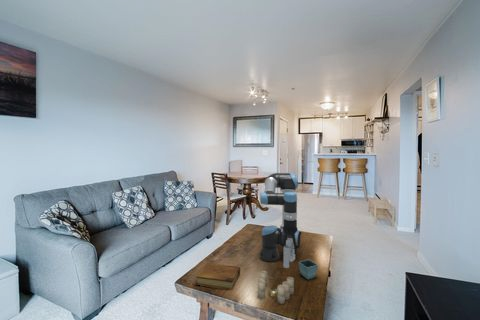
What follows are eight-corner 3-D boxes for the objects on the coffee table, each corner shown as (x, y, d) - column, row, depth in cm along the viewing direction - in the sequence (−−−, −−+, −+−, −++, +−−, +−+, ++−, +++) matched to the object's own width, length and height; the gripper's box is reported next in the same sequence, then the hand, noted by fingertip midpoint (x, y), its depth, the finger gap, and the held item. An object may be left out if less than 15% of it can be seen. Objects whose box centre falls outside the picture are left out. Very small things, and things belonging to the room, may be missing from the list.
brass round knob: (270, 291, 134) (270, 286, 134) (279, 293, 132) (279, 289, 132) (267, 296, 130) (267, 291, 130) (276, 298, 127) (276, 293, 127)
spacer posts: (261, 283, 142) (261, 270, 142) (294, 291, 134) (294, 277, 134) (252, 296, 129) (252, 281, 129) (288, 306, 121) (288, 290, 121)
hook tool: (287, 257, 139) (287, 237, 139) (294, 259, 138) (294, 238, 138) (282, 267, 128) (282, 245, 127) (289, 268, 126) (290, 246, 126)
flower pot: (307, 282, 144) (307, 267, 144) (298, 275, 152) (298, 261, 152) (318, 279, 148) (318, 264, 148) (308, 272, 156) (309, 259, 156)
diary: (240, 275, 154) (240, 266, 153) (232, 290, 135) (232, 280, 135) (207, 270, 159) (207, 262, 159) (195, 285, 141) (195, 275, 141)
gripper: (274, 218, 136) (274, 258, 137) (304, 222, 130) (304, 264, 130) (277, 215, 143) (277, 253, 144) (306, 218, 137) (305, 258, 137)
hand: (289, 258), depth 137 cm, fingers closed on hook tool, 4 cm apart
